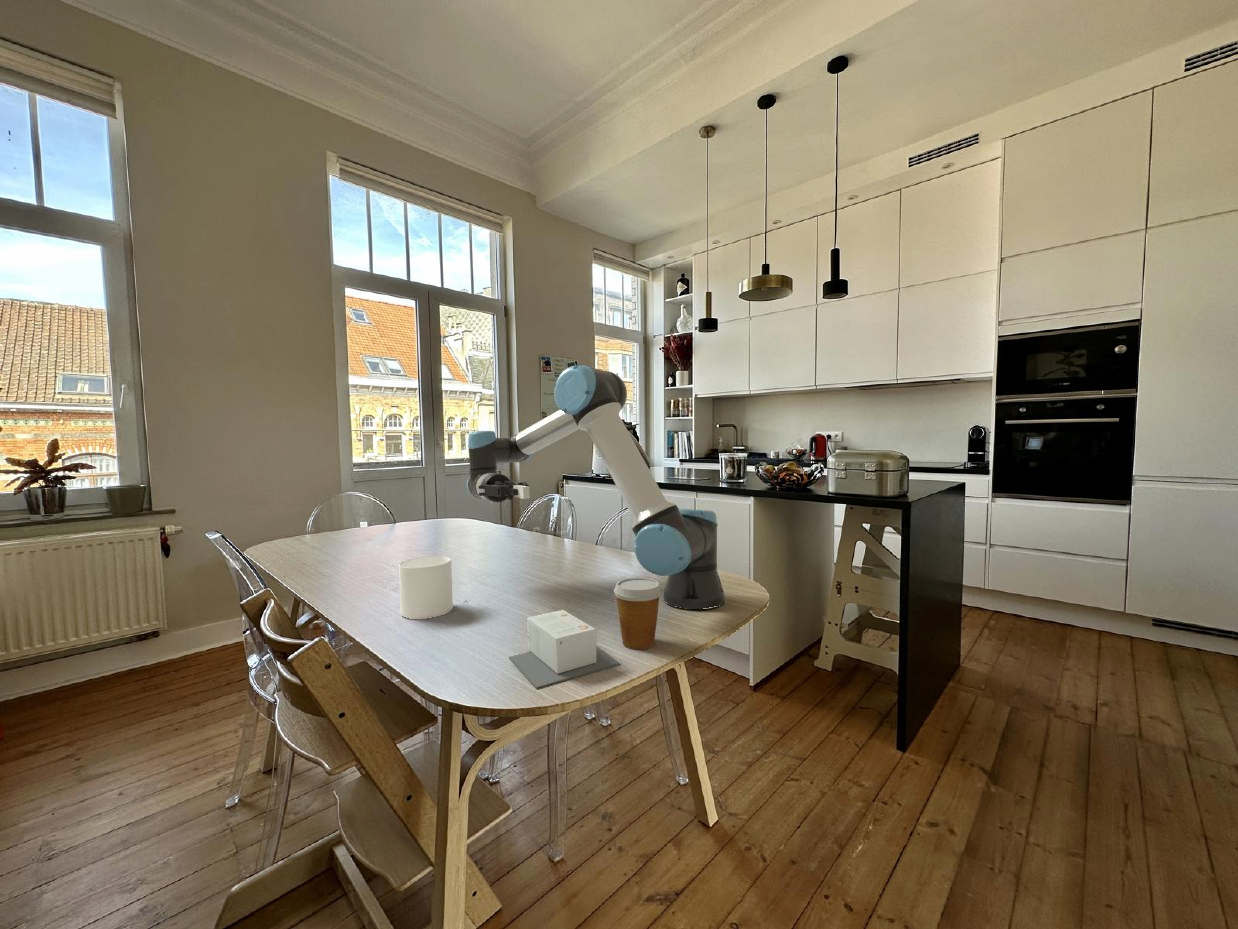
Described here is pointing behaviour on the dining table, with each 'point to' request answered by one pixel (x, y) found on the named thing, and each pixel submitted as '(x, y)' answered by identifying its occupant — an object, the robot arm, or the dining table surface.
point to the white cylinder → (425, 587)
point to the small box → (561, 641)
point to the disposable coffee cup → (638, 611)
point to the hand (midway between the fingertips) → (526, 492)
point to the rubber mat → (546, 676)
